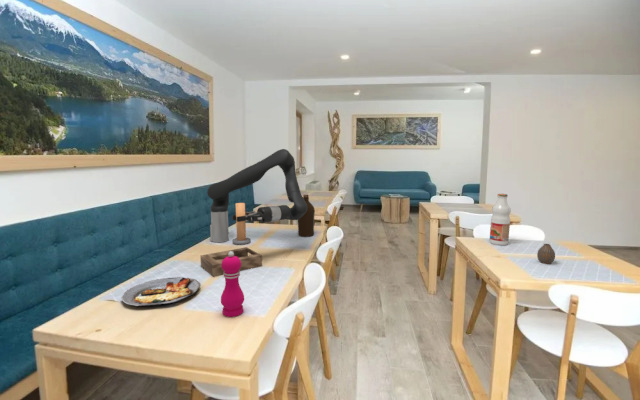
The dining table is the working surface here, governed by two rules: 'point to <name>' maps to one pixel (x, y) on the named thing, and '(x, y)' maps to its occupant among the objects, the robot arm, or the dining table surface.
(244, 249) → the keyhole base
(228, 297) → the pepper mill
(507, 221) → the fruit juice
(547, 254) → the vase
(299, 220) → the olive oil
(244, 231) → the peg
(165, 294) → the food plate
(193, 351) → the dining table surface
